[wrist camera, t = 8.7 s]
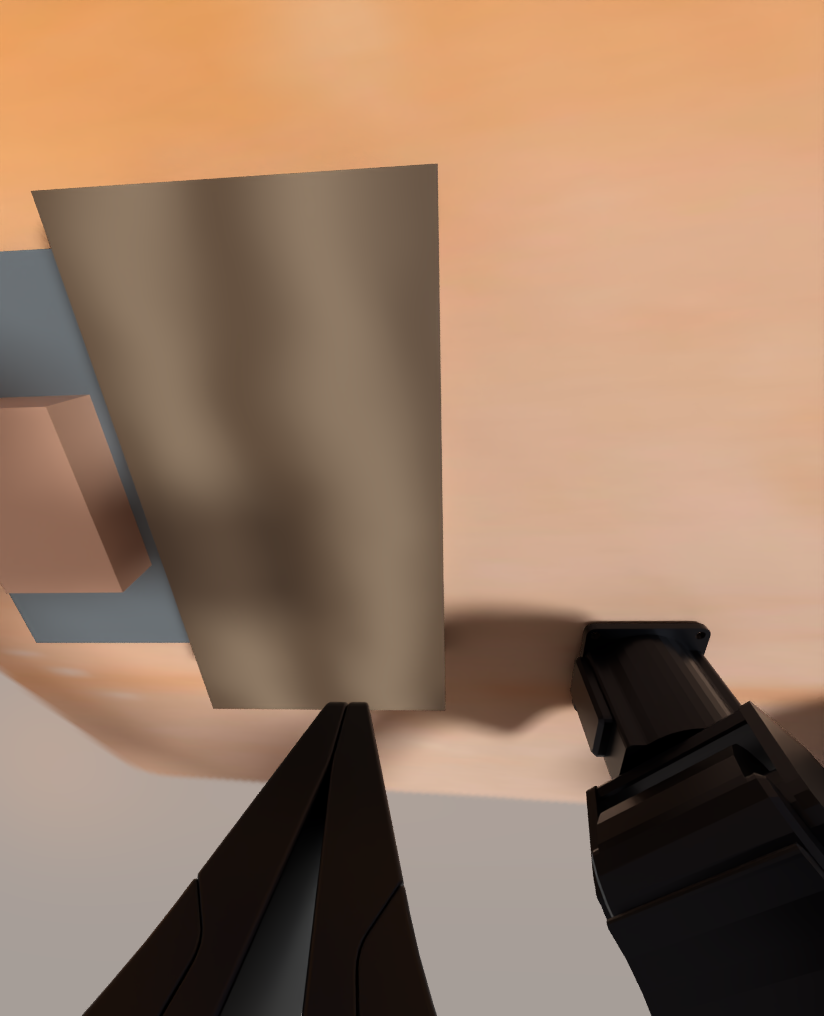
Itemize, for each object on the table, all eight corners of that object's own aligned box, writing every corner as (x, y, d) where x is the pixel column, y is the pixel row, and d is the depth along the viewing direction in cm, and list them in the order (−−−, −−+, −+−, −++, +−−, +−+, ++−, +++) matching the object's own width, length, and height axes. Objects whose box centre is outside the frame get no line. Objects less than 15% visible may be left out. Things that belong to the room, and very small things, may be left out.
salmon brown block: (-96, 411, 17) (-37, 399, 19) (6, 593, 21) (45, 566, 23) (45, 406, 17) (89, 394, 19) (122, 592, 21) (151, 564, 23)
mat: (116, 245, 17) (110, 245, 17) (232, 638, 26) (229, 642, 25) (-167, 262, 17) (-176, 261, 17) (40, 639, 26) (36, 642, 26)
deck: (436, 194, 16) (437, 163, 12) (443, 651, 25) (445, 710, 22) (119, 214, 16) (31, 191, 13) (243, 651, 26) (213, 708, 22)
